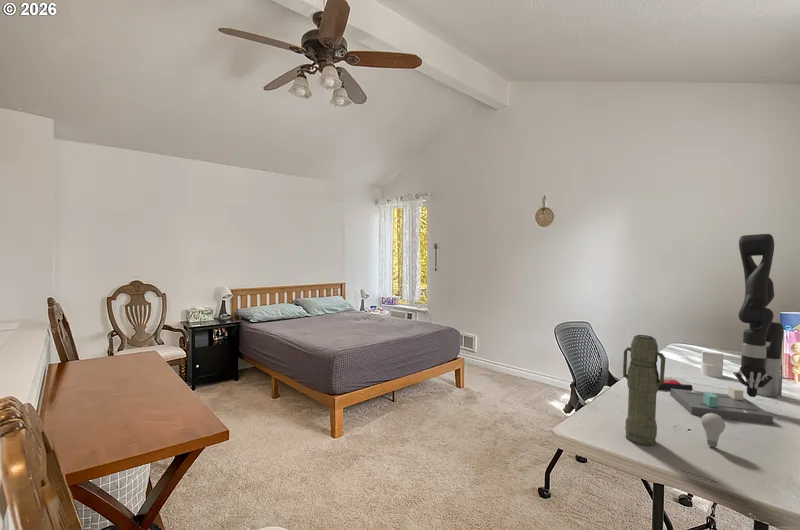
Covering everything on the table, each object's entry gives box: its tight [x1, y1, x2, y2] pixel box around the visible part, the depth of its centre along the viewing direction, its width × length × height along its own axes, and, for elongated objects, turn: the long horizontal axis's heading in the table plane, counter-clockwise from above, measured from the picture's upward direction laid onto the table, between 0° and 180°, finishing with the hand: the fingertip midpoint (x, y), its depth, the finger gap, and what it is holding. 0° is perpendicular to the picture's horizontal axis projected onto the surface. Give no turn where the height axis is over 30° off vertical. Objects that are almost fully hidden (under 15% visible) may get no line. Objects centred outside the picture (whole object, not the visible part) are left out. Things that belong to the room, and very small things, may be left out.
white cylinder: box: [700, 350, 724, 378], centre depth 206 cm, size 9×9×12 cm
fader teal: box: [703, 391, 719, 408], centre depth 155 cm, size 3×5×4 cm, turn 163°
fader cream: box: [727, 385, 744, 400], centre depth 163 cm, size 3×5×4 cm, turn 163°
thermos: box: [622, 334, 666, 447], centre depth 130 cm, size 9×12×35 cm
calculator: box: [658, 376, 694, 392], centre depth 185 cm, size 11×4×15 cm
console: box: [669, 389, 774, 424], centre depth 160 cm, size 26×22×3 cm
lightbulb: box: [700, 413, 726, 449], centre depth 127 cm, size 6×6×11 cm
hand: (751, 396), depth 162 cm, fingers closed
